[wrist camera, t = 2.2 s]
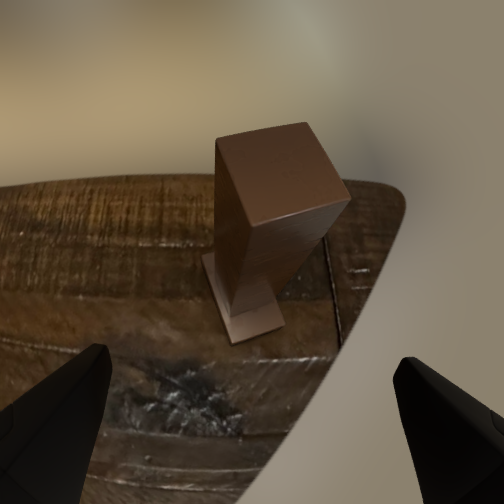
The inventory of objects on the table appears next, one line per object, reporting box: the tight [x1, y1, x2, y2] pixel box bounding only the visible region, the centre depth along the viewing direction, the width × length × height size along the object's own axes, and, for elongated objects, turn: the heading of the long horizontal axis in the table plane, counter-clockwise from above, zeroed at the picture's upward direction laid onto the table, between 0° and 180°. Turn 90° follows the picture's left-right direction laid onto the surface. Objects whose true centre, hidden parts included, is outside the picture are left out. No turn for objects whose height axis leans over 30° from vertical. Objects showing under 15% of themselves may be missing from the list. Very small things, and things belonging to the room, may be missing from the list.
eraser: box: [201, 122, 351, 346], centre depth 14 cm, size 6×4×14 cm, turn 21°
